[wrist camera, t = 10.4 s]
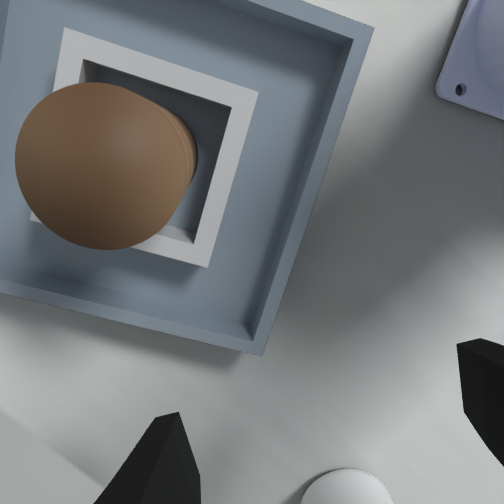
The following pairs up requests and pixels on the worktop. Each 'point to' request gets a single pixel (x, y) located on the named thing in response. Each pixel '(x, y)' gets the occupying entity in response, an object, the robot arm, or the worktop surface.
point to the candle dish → (209, 152)
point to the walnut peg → (103, 165)
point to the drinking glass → (347, 489)
